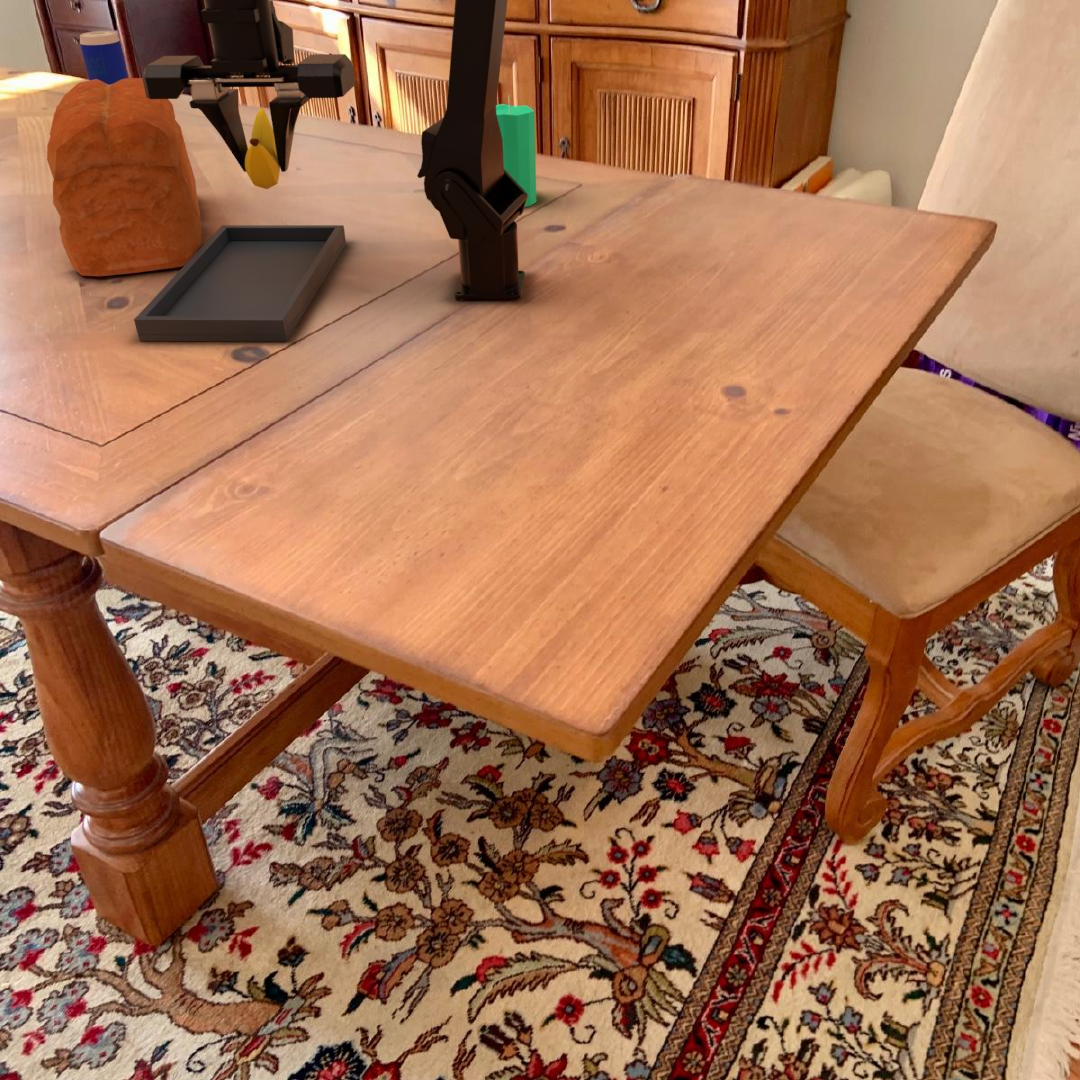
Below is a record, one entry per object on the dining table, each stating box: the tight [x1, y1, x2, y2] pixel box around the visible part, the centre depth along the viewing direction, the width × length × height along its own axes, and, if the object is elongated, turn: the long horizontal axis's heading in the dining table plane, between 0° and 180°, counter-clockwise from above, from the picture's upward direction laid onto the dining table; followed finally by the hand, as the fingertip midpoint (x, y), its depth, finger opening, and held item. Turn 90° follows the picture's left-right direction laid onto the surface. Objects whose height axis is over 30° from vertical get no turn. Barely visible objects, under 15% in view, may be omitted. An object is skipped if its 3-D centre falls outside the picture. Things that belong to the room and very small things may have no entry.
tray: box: [133, 224, 347, 343], centre depth 102 cm, size 26×14×2 cm, turn 177°
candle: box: [496, 94, 537, 208], centre depth 121 cm, size 6×6×12 cm
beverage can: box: [79, 30, 129, 85], centre depth 143 cm, size 5×5×15 cm
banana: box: [245, 107, 281, 190], centre depth 99 cm, size 3×19×6 cm, turn 11°
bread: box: [46, 77, 204, 277], centre depth 112 cm, size 14×27×15 cm, turn 18°
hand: (266, 170), depth 101 cm, fingers closed on banana, 3 cm apart
